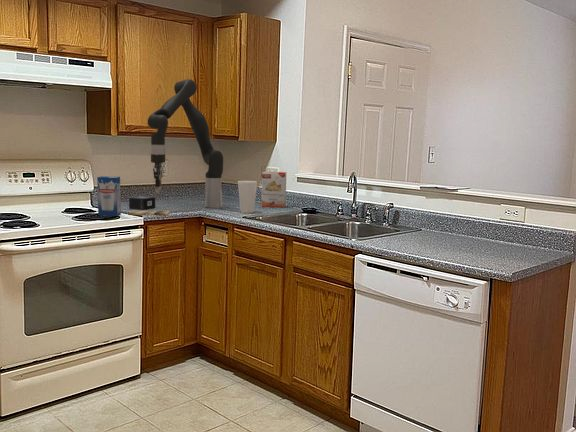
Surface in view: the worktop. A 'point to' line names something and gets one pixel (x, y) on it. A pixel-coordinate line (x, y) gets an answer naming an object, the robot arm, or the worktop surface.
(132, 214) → the panel
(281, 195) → the cracker box
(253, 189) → the cup
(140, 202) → the small box
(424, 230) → the worktop surface
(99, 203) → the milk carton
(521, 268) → the worktop surface
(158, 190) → the awl
